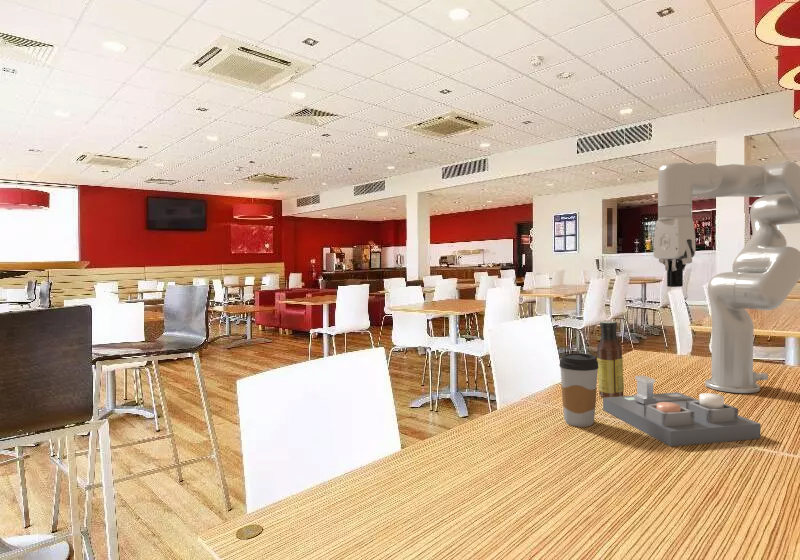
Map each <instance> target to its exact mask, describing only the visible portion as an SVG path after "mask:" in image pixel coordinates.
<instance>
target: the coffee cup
mask: <svg viewBox="0 0 800 560" xmlns="http://www.w3.org/2000/svg"><path fill="white" fill-rule="evenodd" d="M558 365H559V367H560V378H561V379H560V381H561V386H560V387H561V397H562V406H563V407H562V408H563V418H564V419H563V420H565V423H566V424H567V425H569V426H572V427H573V426H574V427H578V428H579V427H580V428H583V427H584V428H585V427H586V428H587V427H591V426H592V425H594V422H595V416H596V415H595V414H596V406H597V392H598V391H597V390H598V387H597V385H598V384H597V383H598V368H599V367H598V361H597V355H594V354H589V353H582V352H581V353H579V352H571V353H564V354H562V355H561V359H560V360H559V364H558Z"/></svg>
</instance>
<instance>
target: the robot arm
mask: <svg viewBox="0 0 800 560" xmlns="http://www.w3.org/2000/svg"><path fill="white" fill-rule="evenodd" d="M657 190H658V191H657V203H658V204H657V220H656V222H655V228H654V237H653V256H654V258H656V259H658V263H660V264H662V265H663V266H664V268H665V271H666V286H667V287H669V288H681V287H683V285H684V282H683V281H684V280H683V279H684V272H683V271H685V270H686V269H685V268H686V266H687V265H689V264H691V263H693V257H695V255H696V230H695V224H694V220H693V198H703V197H704V198H705V197H707V198H723V197H724V198H725V197H730V198H732V197H733V198H734V197H738V198H739V197H740V198H741V197H744V198H757V197H759V198H757V199H756V200H755V201H754V202H753V203H752V204H751V207H750V210H749V216H750V223H751V230H752V231H751V232H752V235H751V237H750V239H748V241H747V243H746V244H745V246H743V248H742V249H741V251H740V252H739V253H738V254H737V256H736V258H735V259H734V261H733V262H732V272H731V271H730V272H727V271H726V272H721V273H718V274H716V275H713V277H711V279H710V280H709V282H708V285H707V295H708V299H709V304H710V305H709V306H710V310H711V378H707V379H705V380H704V385H705V387H707V388H710V389H713V390H715V391H720V392H726V393H734V394H755V393H758V392H760V391H761V389H760V387H761V386H760V385H759V384H758V383H757V382H758V381H767V380H768V379H769V375H768V373H767V372H758V373H757V371H754V330H755V329H754V322H753V319H752V317H751V315H750V314H749V312H748V311H747V310H759V311H772V310H775V309H777V308H779V307H781V305H783V303H784V302H785V300H786V299H787V297H788V296H789V294H790V293H791V292H792V290H793V289H794V288H795V286H796V285H797V283H798V282H799V280H800V250H799V249H798V248H795V247H793V246H787V239H786V237H785V235H784V233H782V232H781V230H779V229H778V226H777V225H792V224H793V225H795V224H800V165H799V164H797V163H796V162H793V161H781V162H775V163H770V164H763V165H762V164H760V165H756V164H755V165H753V164H752V165H751V164H750V165H748V164H738V163H737V164H736V163H735V164H734V163H732V164H724V165H723V164H722V165H717V164H715V163H712V162H700V163H689V162H688V163H687V162H674V163H673V162H672V163H665V164H664V165H663V164H662V165H661V166H660V167H659V168H658V171H657Z"/></svg>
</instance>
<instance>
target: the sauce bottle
mask: <svg viewBox="0 0 800 560" xmlns="http://www.w3.org/2000/svg"><path fill="white" fill-rule="evenodd" d="M599 326H600V332H601V333H600V341H599V342H598V345H597V347H596V348H597V353H596V361H598V367H599V368H598V372H597V383H598V384H597V385H598V387H597V390H598V393H599V394H598V395H599V396H601V397H602V398H605V397H619V396H625V395H624V393H625V392H624V391H625V385H624V382H625V381H624V359H623V349H622V348H623V347H622V345H621V343H620V341H619V340H618V336H617V327H618V324H617V321H615V320H603V321H600V322H599Z"/></svg>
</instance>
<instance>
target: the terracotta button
mask: <svg viewBox="0 0 800 560" xmlns="http://www.w3.org/2000/svg"><path fill="white" fill-rule="evenodd" d="M657 409H658V410H661V411H663V412H665V413H669V412H681V406H680V405H678V404H675V403H670V402H659V403H657Z"/></svg>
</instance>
